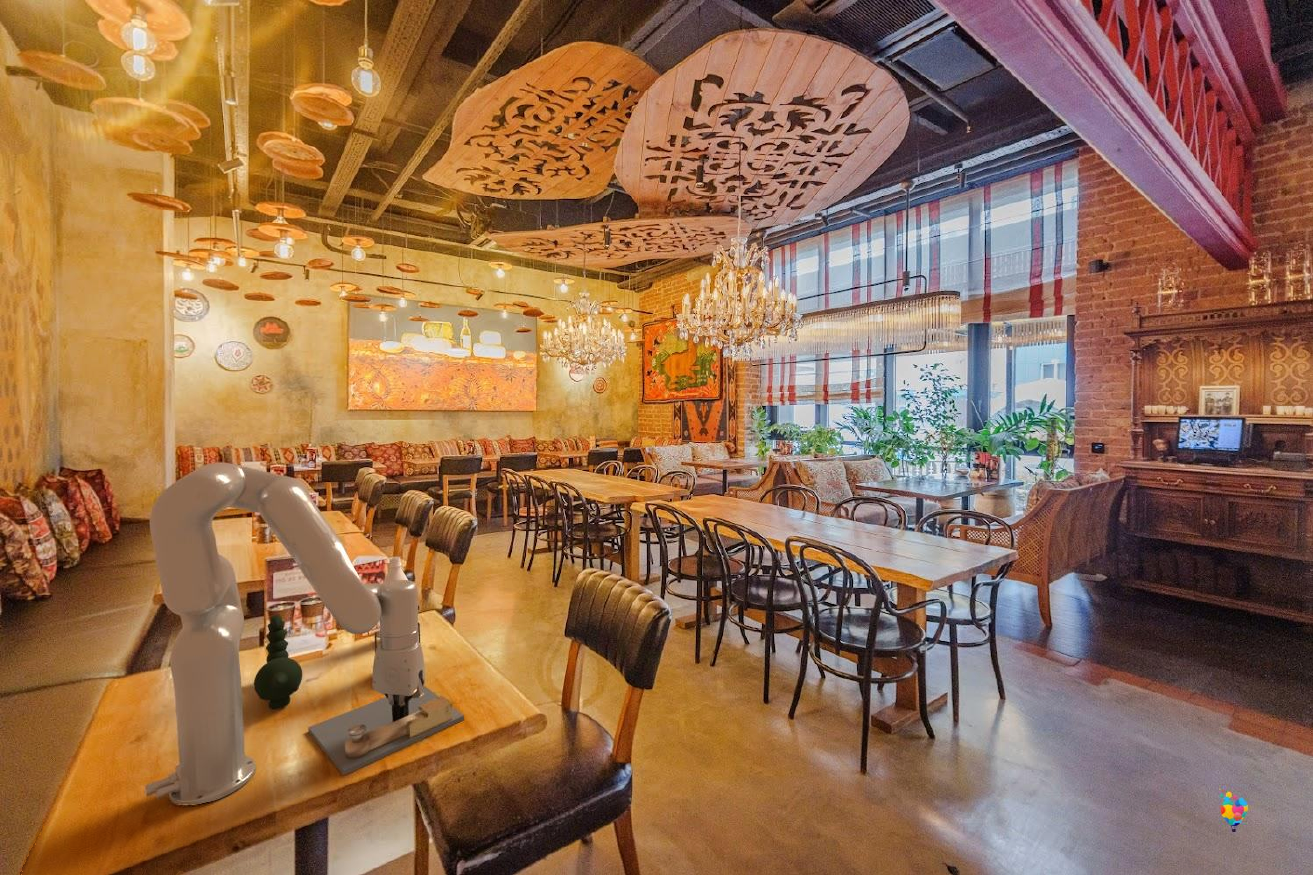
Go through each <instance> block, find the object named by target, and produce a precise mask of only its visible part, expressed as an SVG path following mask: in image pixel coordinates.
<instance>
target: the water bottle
mask: <svg viewBox="0 0 1313 875" xmlns="http://www.w3.org/2000/svg"><path fill="white" fill-rule="evenodd" d="M402 565H403V564H402V561H401V556H392V557H389V565H388V567H389V569H388V573H387V574H386V576H385V578H384V580H383V582H382V583H389V582H392V581H397V580H409V579H408V577H407V576H406V574H405V573H404V571H403V569H402Z"/></svg>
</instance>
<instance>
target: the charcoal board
mask: <svg viewBox="0 0 1313 875" xmlns="http://www.w3.org/2000/svg"><path fill="white" fill-rule="evenodd" d="M422 687H423V692H424V694H423V695H422V696H421V697H419V698H411V700H409V714H408V716H409V715H411V714H414V713H416V712H418V711H420V710H419V705H421V704H424V703H426V702H428V701H431V700H433V699H436V698H438V697H440V696H439V695H438V694H436V693H435V692H434V691H432V690H431V689H429V688H428V687H427V686H426V685H425V684H424V685H423V686H422ZM464 720H465V715H464V714H463V713H461V712H460V711H459V710H457V709H456V707H453V706H452V720H450V721H448V722H446V723H443V724H441V725H439V726H437V727H435V728H432V729H430V730H428V731H426V732H424V733H422V734H419V735H417V736H415V737H413V738H411V739H410V738H409V737H408V736H407V734H406V735H404V736H402V737H399V738H397V739H395V740H393V741H390V742H388V743H386V744H383V745H381V746H379V747H376V748H374V749H372V750H369V751H368V752H367V753H366V754H365V755H363V756H360V757H357V758H348V757H346V755H345V742H346V741H347V740H348V739H349V738H351V737H352V736H350V735H348V730H349V728H351V727H352V726H355V725H358V724H364V725H366V731H365V732H364V733H363V734H365V733H367V732H370V731H372V730H375V729H377V728H379V727H382V726H384V725H387V724H389V723H392V722H393V720H392V705H390V704H389V700H388V698H387V697H386V696H385V697H383V698H380V699H378V700H375V701H372V702H370V703H367V704H364V705H362V706H360V707H357V708H355V709H352V710H349V711H347V712H344V713H341V714H339V715H336V716H334V717H331V718H329V719H326V720H324V721H321V722H319V723H317V724H316V723H315V724H313V725H311V726H308V727H307V729H308V733H309V734H310V735H311V737H312V738H313V740H314V741H315V742H316V743H317V744H318V745H319V747H320V748H321V750H323V752H324V753H325V754H326V756H327V757H328V759H329V760H330V761H331V762H332V763H333V764H334V766H335V767H336V768H337V769H338V771H339V772H340V773H341V775H342V776H343V777H344V776H346V775H348V774H350V773H353V772H355V771H357V770H359V769H361V768H363V767H366V766H368V765H370V764H372V763H375V762H377V761H379V760H381V759H382V758H385V757H387V756H390V755H391V754H393V753H396V752H398V751H400V750H402V749H405V748H406V747H409V746H411V745H413V744H414V743H417V742H419V741H422V740H423V739H426V738H428V737H429V736H432V735H434V734H436V733H439V732H440V731H443V730H445V729H447V728H449V727H452V726H454V725H456V724H457V723H460V722H462V721H464Z"/></svg>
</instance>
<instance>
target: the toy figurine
mask: <svg viewBox="0 0 1313 875" xmlns="http://www.w3.org/2000/svg"><path fill="white" fill-rule="evenodd" d="M285 624H286V622H285V621H284V620H283V617H282V615H280V614H273V615H272V616H271V617H270V619H269V623H268V624H267V630H268V631H269V632H268V633H267V634H266V635H265V637H266V639H267V641H268V642H269V643H268V644H267V645H266V646H265V650H266V651H267V653H268V654H267V656H266V663H265V664H264V665H262V667H260V668H259V670H258V671H257V673H256V674H255V676H254V680H253V688H254V692H255V693H256V696H258V698H259V700H262V701H267V702H268V703H267V706H268V708H269V709H271V710H279V709H283V708H285V707H287V706H288V705H289V704H290V703H291V695H293V694H294V693H295V692H298V690H299V689H300V688H299V687H300V685H301V683H302V680H303V669H302V667H301V665H300V664H299V662H298V661H297V660H295V659H294V658H290V657H289V652H288V651H287V648H288V646H289V642H288V641H287V640H285V639H286V636H287V634H288V631H287V630H286V629H284V628H285Z"/></svg>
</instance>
